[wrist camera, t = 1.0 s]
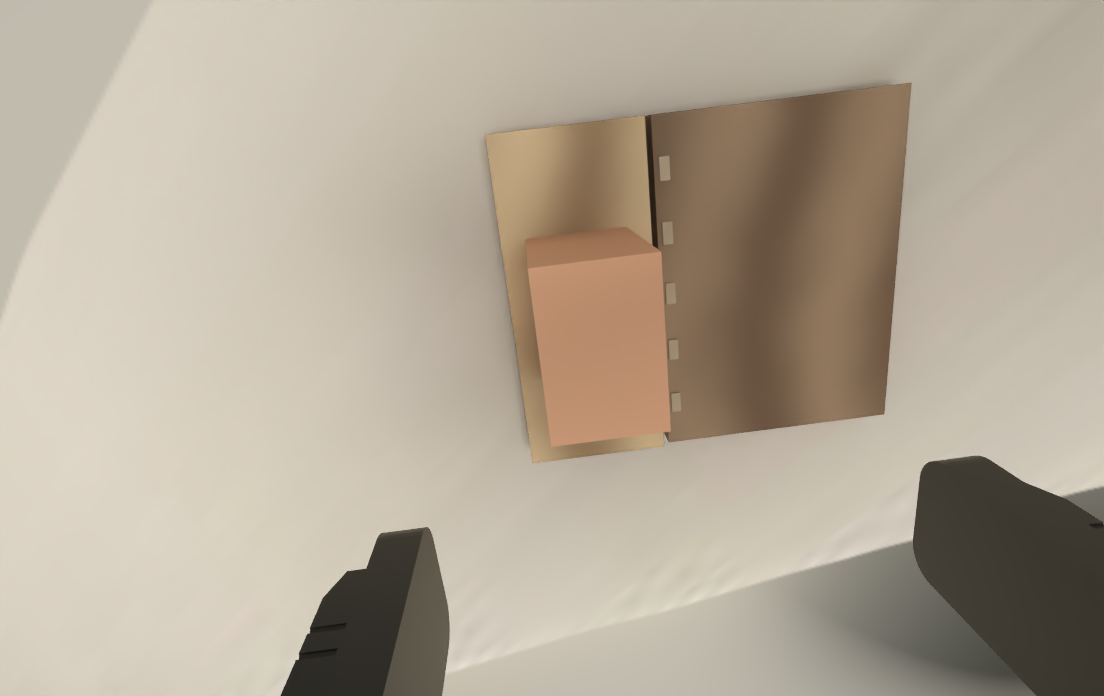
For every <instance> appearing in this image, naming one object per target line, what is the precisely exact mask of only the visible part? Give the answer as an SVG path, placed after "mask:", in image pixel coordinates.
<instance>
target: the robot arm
mask: <svg viewBox="0 0 1104 696" xmlns="http://www.w3.org/2000/svg"><path fill="white" fill-rule="evenodd" d="M913 549H914V554H915V558H916V561H917V563H918V566H919V568H920V570H921V572H922V573H923V575H924V577H925V578H926V579H927V581H928V582H929V583H930V584H931V585H932V586H933V587H934V588H935V589H936V591H938V593H939V594H940V595H941V596H942V597H943V598H944V599H945V600H946V601H947V602H948V603H949V604H950V605H951V606H952V607H953V608H954V609H955V611H956V612H957V613H958V614H959V615H960V616H961V617H962V618H963V619H964V620H965V621H966V622H967V623H968V624H969V625H970V626H971V627H972V628H973V629H974V630H975V631H976V633H977V634H979V636H980V637H981V638H982V639H983V640H984V641H985V642H986V643H987V644H988V645H989V646H990V647H991V648H992V649H993V650H994V651H995V652H996V653H997V654H998V656H999V657H1000V658H1001V659H1002V660H1003V661H1004V662H1005V663H1006V664H1007V665H1008V666H1009V667H1010V668H1011V669H1012V670H1013V671H1014V672H1015V673H1016V674H1017V676H1018V677H1019V678H1020V679H1021V680H1022V681H1023V682H1024V683H1025V684H1026V685H1027V686H1028V687H1029V688H1030V689H1031V690H1032V691H1033V692H1034V693H1035V694H1036V695H1037V696H1104V525H1103V522H1102V521H1100V520H1098V519H1097V518H1095V517H1094V516H1092V515H1090V514H1089V513H1087V512H1086V511H1084V510H1083V509H1081V508H1079V507H1078V506H1076V505H1075V504H1073V503H1072V502H1070V501H1068V500H1067V499H1064V498H1062V497H1059V496H1057V495H1054V494H1052V493H1049V492H1047V491H1044V490H1042V489H1039V488H1037V487H1034V486H1032V485H1029V484H1027V483H1024V482H1023V481H1021V480H1020V479H1018V478H1017V477H1015V476H1014V475H1012V474H1011V473H1009V472H1007V471H1006V470H1004V469H1003V468H1001V467H1000V466H998V465H997V464H995V463H994V462H992V461H991V460H989V459H987V458H985V457H982V456H970V457H963V458H955V459H948V460H940V461H933V462H929V463H927V464H926V465H924V467H923V468H922V471H921V475H920V482H919V491H918V500H917V509H916V518H915V527H914V536H913ZM448 648H449V612H448V605H447V600H446V595H445V591H444V586H443V582H442V577H441V573H440V568H439V563H438V559H437V554H436V550H435V545H434V541H433V537H432V534H431V531H430V529H429V528H428V527H425V528H418V529H410V530H403V531H395V532H388V533H381V534H380V535H379V536H378V538H377V541H376V544H375V546H374V549H373V552H372V555H371V557H370V560H369V563H368V566H367V569H361V570H354V571H347V572H346V573H345V574H344V575H343V577H342V578H341V579H340V580H339V581H338V582H337V583H336V584H335V585H334V586H333V588H332V589H331V590H330V591H329V592H328V593H327V594H326V595H325V596H324V597H323V599H322V601H321V604H320V606H319V608H318V611H317V613H316V615H315V618H314V620H313V622H312V625H311V627H310V634H307V636H306V638H305V641H304V643H303V645H302V648H301V650H300V652H299V660H296V661H295V664H294V666H293V668H292V671H291V673H290V675H289V678H288V680H287V682H286V685H285V687H284V689H283V691H282V694H281V696H442V691H443V684H444V677H445V670H446V663H447V655H448Z"/></svg>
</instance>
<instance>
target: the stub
mask: <svg viewBox="0 0 1104 696" xmlns="http://www.w3.org/2000/svg"><path fill="white" fill-rule="evenodd" d="M485 139H486V146H487V153H488V160H489V167H490V173H491V180H492V187H493V194H494V201H495V208H496V215H497V222H498V229H499V235H500V242H501V249H502V256H503V263H504V270H505V277H506V284H507V291H508V297H509V304H510V311H511V318H512V325H513V332H514V339H515V346H516V352H517V359H518V366H519V373H520V380H521V387H522V394H523V401H524V408H525V414H526V421H527V428H528V435H529V442H530V449H531V456H532V463H539V462H546V461H554V460H562V459H569V458H577V457H585V456H592V455H600V454H608V453H616V452H623V451H631V450H639V449H646V448H654V447H662V446H664V436H663V432H671V424H670V405H669V387H668V368H667V350H666V331H665V312H664V294H663V275H662V256H661V251H660V250H658V249H657V248H655V247H654V246H653V245H652V231H651V214H650V197H649V180H648V163H647V146H646V129H645V115H643V116H635V117H626V118H618V119H610V120H602V121H594V122H586V123H578V124H569V125H561V126H553V127H545V128H537V129H529V130H521V131H512V132H504V133H496V134H488V135H485Z"/></svg>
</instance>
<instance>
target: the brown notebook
mask: <svg viewBox="0 0 1104 696" xmlns="http://www.w3.org/2000/svg"><path fill="white" fill-rule="evenodd" d="M910 93H911V83H905V84H897V85H889V86H881V87H873V88H865V89H857V90H848V91H840V92H832V93H824V94H816V95H808V96H800V97H791V98H783V99H775V100H767V101H759V102H751V103H743V104H734V105H726V106H718V107H710V108H702V109H694V110H686V111H677V112H669V113H661V114H653V115H648V116H645V129H646V146H647V163H648V180H649V197H650V214H651V231H652V245H653V246H654V247H655V248H657V249H658V250H660V251H661V256H662V275H663V294H664V312H665V331H666V350H667V368H668V387H669V405H670V424H671V432H664V433H665V435H666V437H667V439H668V441H669V442H674V441H682V440H690V439H697V438H705V437H713V436H720V435H728V434H736V433H743V432H751V431H759V430H767V429H774V428H782V427H790V426H797V425H805V424H813V423H820V422H828V421H836V420H844V419H851V418H859V417H867V416H874V415H882V414H884V410H885V398H886V386H887V373H888V361H889V349H890V337H891V325H892V313H893V300H894V288H895V276H896V264H897V252H898V239H899V227H900V215H901V203H902V191H903V178H904V166H905V154H906V142H907V130H908V118H909V105H910Z"/></svg>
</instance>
